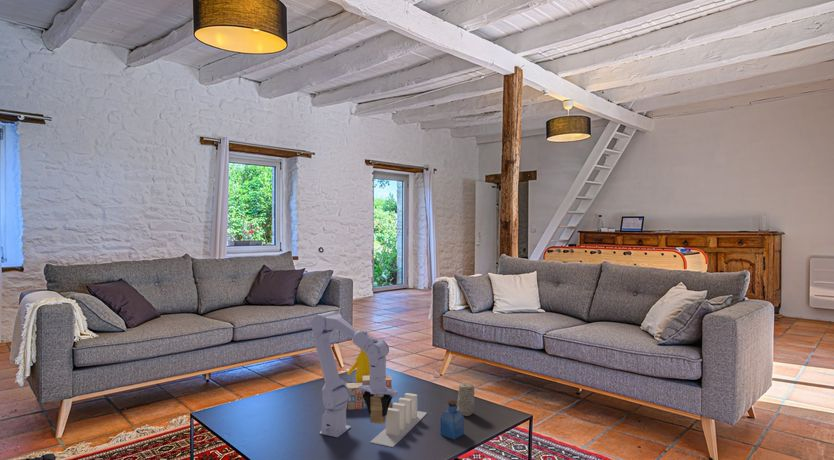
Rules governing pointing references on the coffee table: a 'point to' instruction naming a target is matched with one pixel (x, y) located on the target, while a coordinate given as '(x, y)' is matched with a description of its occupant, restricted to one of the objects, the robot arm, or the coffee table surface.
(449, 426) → the perfume bottle
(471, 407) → the carving
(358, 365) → the figure statuette
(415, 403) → the domino
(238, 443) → the coffee table surface
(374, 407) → the ochre tile
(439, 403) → the coffee table surface
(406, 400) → the domino
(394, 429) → the domino
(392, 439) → the felt strip
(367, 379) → the stack of blocks
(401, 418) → the domino
